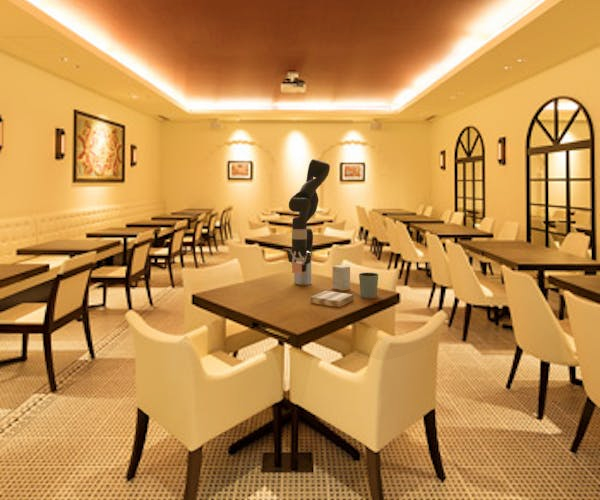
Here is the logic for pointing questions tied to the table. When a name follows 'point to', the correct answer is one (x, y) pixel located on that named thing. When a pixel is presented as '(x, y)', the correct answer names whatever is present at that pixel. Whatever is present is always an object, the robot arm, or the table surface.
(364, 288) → the grey cylindrical piece
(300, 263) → the terracotta cube
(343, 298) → the maple base
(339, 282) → the small box
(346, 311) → the table surface
